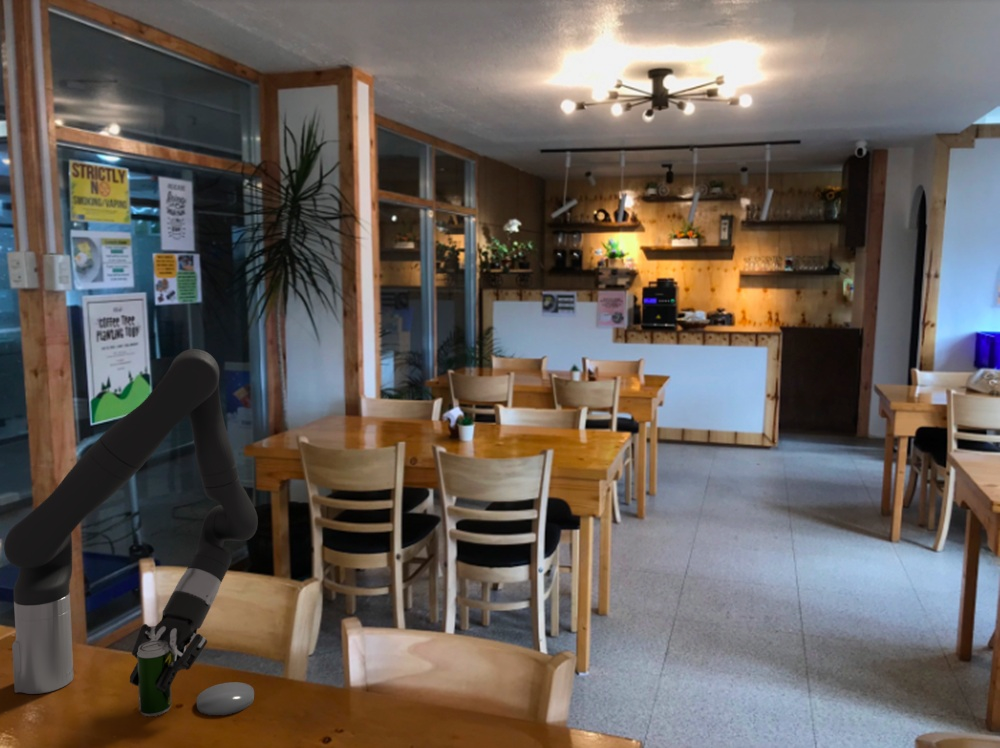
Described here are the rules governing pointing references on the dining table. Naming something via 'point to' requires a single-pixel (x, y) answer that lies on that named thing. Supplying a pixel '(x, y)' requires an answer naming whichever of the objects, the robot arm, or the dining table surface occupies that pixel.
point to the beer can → (153, 677)
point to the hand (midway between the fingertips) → (147, 686)
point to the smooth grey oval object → (225, 698)
